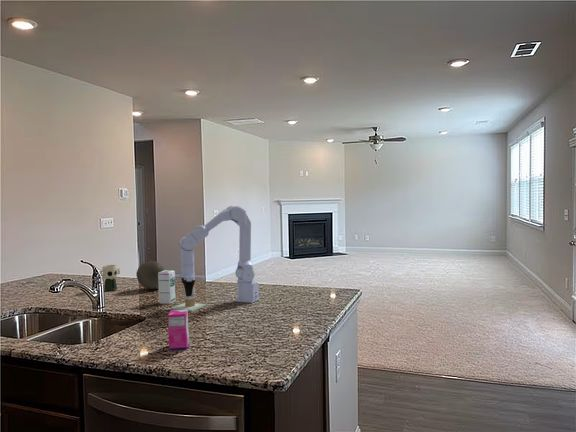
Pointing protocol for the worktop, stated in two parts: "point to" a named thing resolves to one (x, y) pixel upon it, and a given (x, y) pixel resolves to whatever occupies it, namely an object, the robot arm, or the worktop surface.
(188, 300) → the sprinkles bottle
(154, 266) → the cantaloupe
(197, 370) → the worktop surface
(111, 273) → the character mug
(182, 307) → the green white square tile
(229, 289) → the worktop surface
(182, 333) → the supplement box
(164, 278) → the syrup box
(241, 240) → the robot arm
